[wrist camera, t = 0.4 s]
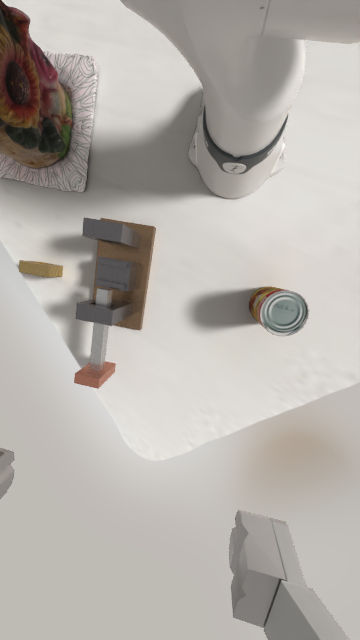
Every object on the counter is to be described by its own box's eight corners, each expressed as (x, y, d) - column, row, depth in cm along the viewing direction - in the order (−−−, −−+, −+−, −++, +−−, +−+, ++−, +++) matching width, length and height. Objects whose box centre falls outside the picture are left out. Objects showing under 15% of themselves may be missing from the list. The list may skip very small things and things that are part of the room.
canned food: (243, 295, 51) (252, 302, 40) (278, 280, 50) (299, 282, 38) (257, 327, 52) (270, 343, 41) (291, 313, 51) (316, 325, 39)
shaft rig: (103, 219, 52) (71, 203, 40) (155, 228, 51) (138, 213, 39) (94, 319, 57) (62, 331, 45) (141, 328, 56) (122, 343, 44)
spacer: (39, 261, 56) (19, 260, 50) (62, 266, 55) (45, 265, 50) (39, 272, 57) (19, 272, 51) (62, 276, 56) (44, 276, 50)
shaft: (102, 286, 50) (82, 288, 42) (124, 290, 49) (108, 293, 42) (94, 367, 54) (74, 382, 46) (114, 371, 53) (98, 388, 46)
